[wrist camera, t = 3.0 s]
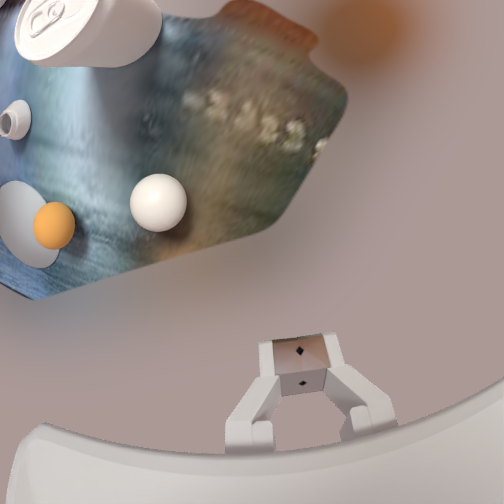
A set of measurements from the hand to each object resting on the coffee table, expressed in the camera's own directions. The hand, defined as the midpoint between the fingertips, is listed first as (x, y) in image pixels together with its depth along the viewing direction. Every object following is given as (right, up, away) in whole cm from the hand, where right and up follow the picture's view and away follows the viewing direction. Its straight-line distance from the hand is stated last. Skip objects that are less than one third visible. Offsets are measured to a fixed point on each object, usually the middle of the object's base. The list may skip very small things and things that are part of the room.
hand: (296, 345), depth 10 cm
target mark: (-33, +7, +17) cm, 38 cm away
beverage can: (-14, +25, +7) cm, 29 cm away
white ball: (-11, +8, +14) cm, 20 cm away
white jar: (-29, +20, +10) cm, 37 cm away
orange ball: (-24, +7, +15) cm, 29 cm away
